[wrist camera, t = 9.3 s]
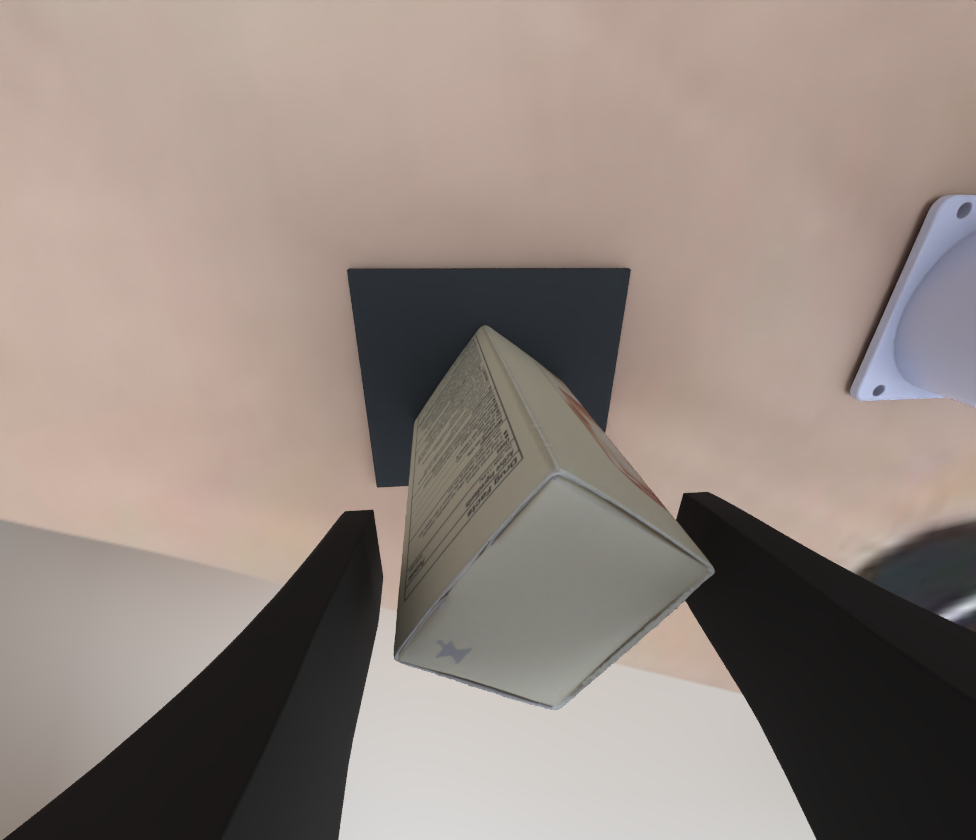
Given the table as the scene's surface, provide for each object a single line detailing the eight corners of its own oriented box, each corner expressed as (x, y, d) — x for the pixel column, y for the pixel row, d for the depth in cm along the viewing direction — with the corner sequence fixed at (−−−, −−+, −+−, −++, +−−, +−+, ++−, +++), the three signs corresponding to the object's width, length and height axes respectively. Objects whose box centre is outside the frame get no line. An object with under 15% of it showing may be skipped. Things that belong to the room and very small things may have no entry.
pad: (628, 268, 15) (631, 269, 15) (596, 472, 19) (598, 476, 19) (348, 268, 14) (346, 269, 14) (378, 483, 18) (376, 487, 18)
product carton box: (496, 470, 18) (550, 722, 9) (410, 421, 16) (373, 665, 8) (573, 379, 16) (732, 577, 7) (486, 315, 15) (554, 467, 6)
